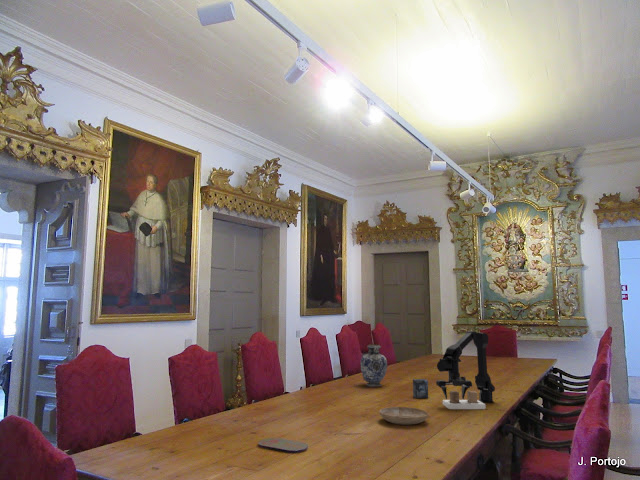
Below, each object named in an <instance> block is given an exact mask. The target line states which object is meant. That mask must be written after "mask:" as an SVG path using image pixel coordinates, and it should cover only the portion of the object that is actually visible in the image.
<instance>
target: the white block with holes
mask: <svg viewBox="0 0 640 480" xmlns="http://www.w3.org/2000/svg"><path fill="white" fill-rule="evenodd" d="M466 393H467V399H459V403H450V399H442V405H443V406H445V408H447V409H448V410H486V408H487V407H486V403H485V402H482V401H480V400H479V399H478V392H477V391H475V390H468V391H467V390H466Z"/></svg>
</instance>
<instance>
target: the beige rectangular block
mask: <svg viewBox="0 0 640 480" xmlns="http://www.w3.org/2000/svg"><path fill="white" fill-rule="evenodd" d="M449 400H450V403H459V400H460V392H459V391H457V390H451V391H449Z"/></svg>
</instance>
